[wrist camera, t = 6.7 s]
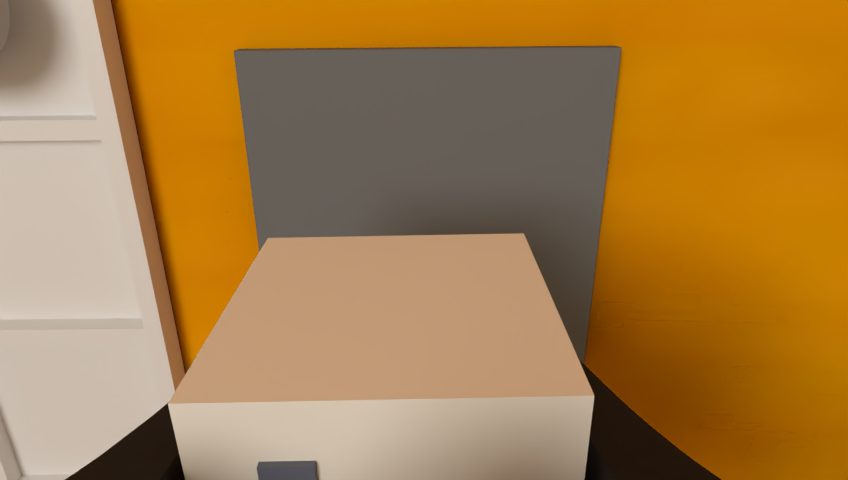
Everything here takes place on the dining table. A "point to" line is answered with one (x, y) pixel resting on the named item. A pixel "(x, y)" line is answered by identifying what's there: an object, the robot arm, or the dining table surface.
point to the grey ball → (4, 22)
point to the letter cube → (387, 367)
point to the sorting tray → (75, 248)
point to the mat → (437, 149)
